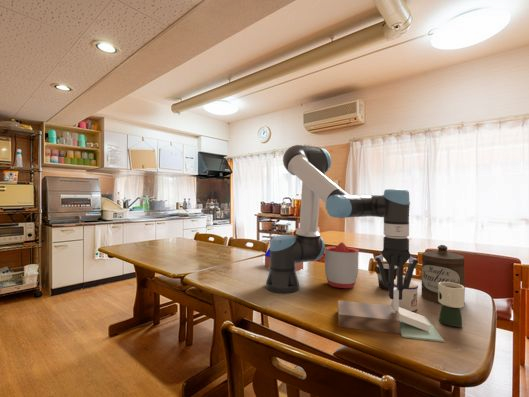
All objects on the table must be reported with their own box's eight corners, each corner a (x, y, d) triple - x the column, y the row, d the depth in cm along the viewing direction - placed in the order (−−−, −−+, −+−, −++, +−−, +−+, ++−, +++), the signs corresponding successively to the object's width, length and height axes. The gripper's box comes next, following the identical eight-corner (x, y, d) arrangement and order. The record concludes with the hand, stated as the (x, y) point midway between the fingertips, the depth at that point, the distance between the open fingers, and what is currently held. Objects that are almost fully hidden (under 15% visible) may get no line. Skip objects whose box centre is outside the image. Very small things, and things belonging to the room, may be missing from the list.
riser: (338, 326, 88) (338, 314, 88) (337, 311, 99) (338, 300, 99) (399, 333, 83) (399, 320, 83) (391, 316, 95) (391, 305, 95)
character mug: (439, 315, 96) (440, 278, 96) (464, 321, 92) (465, 283, 92) (435, 327, 88) (435, 286, 88) (462, 334, 83) (463, 291, 83)
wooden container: (416, 298, 113) (417, 245, 112) (427, 289, 123) (427, 240, 123) (460, 309, 102) (461, 250, 102) (467, 298, 113) (468, 245, 112)
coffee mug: (399, 292, 120) (399, 269, 120) (378, 290, 121) (378, 268, 121) (392, 283, 131) (392, 262, 131) (373, 282, 133) (373, 261, 133)
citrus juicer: (356, 280, 136) (357, 240, 136) (360, 292, 119) (361, 245, 119) (324, 278, 139) (325, 238, 139) (323, 288, 122) (324, 243, 122)
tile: (398, 320, 86) (400, 314, 86) (393, 310, 93) (395, 305, 92) (428, 331, 84) (430, 325, 84) (421, 321, 91) (423, 316, 90)
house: (291, 273, 147) (291, 252, 147) (264, 267, 161) (264, 247, 161) (304, 269, 156) (304, 249, 156) (277, 263, 170) (277, 244, 170)
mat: (402, 337, 81) (402, 335, 81) (391, 314, 97) (391, 313, 97) (444, 342, 79) (444, 340, 79) (425, 318, 94) (425, 316, 94)
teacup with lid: (417, 314, 98) (417, 281, 97) (389, 308, 102) (389, 277, 102) (419, 302, 108) (419, 273, 108) (393, 298, 113) (394, 269, 112)
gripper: (376, 237, 87) (375, 311, 87) (421, 239, 84) (420, 316, 84) (373, 234, 94) (372, 302, 94) (414, 235, 91) (413, 306, 91)
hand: (395, 308), depth 89 cm, fingers closed
